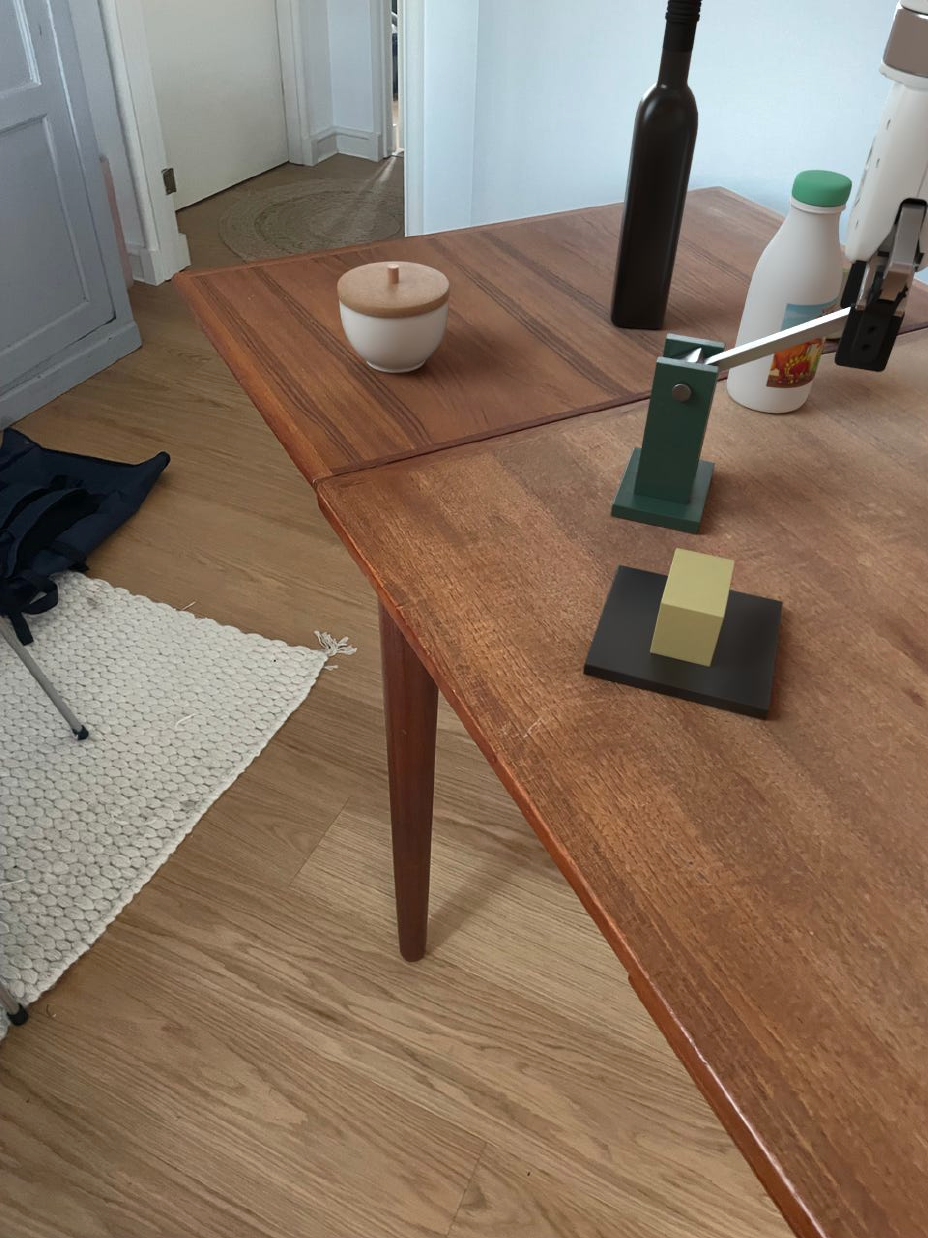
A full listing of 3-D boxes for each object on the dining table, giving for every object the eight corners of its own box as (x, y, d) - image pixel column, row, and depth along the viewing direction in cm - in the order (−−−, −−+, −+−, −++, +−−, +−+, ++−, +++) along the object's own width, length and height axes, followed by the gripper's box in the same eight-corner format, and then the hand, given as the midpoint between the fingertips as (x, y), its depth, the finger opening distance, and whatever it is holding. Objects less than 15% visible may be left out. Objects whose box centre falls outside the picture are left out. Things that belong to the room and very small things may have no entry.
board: (779, 611, 67) (783, 601, 67) (765, 720, 60) (769, 710, 59) (616, 574, 70) (618, 563, 69) (582, 674, 62) (584, 663, 62)
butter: (721, 609, 66) (735, 560, 63) (709, 667, 62) (724, 617, 59) (665, 596, 67) (676, 547, 64) (649, 652, 63) (661, 602, 60)
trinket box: (349, 389, 89) (342, 294, 83) (336, 337, 97) (329, 247, 91) (458, 379, 91) (460, 285, 85) (438, 330, 99) (438, 240, 92)
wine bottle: (660, 308, 104) (716, -14, 83) (663, 331, 100) (722, -2, 79) (609, 304, 104) (652, -17, 84) (610, 327, 100) (655, -5, 80)
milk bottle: (726, 410, 88) (780, 188, 74) (723, 371, 93) (773, 158, 80) (810, 419, 87) (880, 196, 73) (802, 379, 93) (866, 165, 79)
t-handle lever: (885, 307, 65) (876, 275, 64) (885, 338, 62) (874, 305, 60) (681, 378, 73) (669, 352, 72) (670, 409, 70) (658, 382, 69)
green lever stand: (712, 474, 80) (746, 333, 71) (697, 534, 74) (732, 389, 65) (632, 458, 82) (655, 318, 73) (610, 516, 75) (633, 371, 67)
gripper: (887, 12, 59) (811, 280, 71) (885, 77, 47) (794, 386, 59) (1014, 23, 58) (915, 295, 70) (1045, 93, 46) (919, 408, 58)
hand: (860, 336), depth 64 cm, fingers open, 8 cm apart
